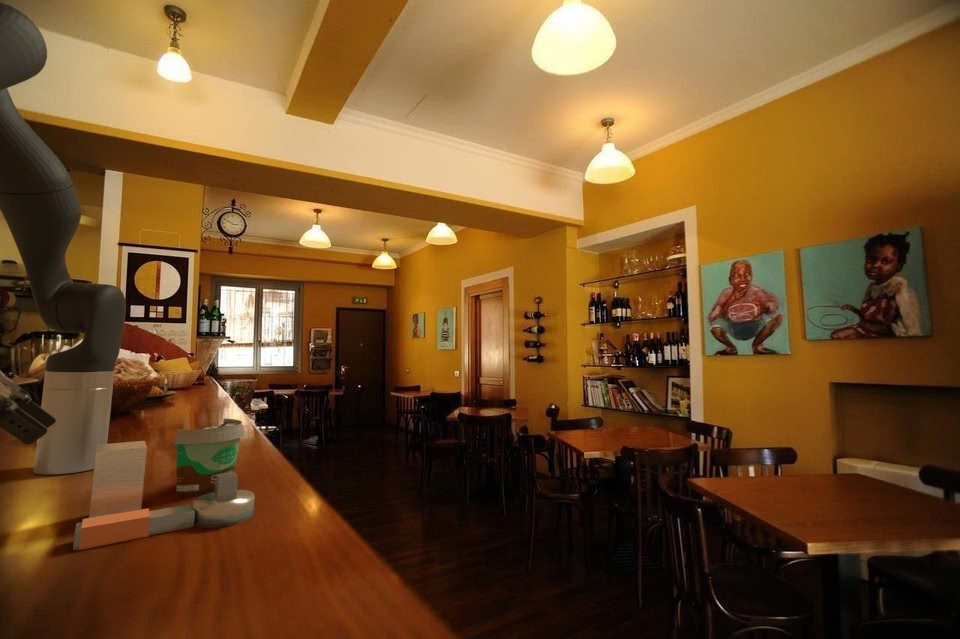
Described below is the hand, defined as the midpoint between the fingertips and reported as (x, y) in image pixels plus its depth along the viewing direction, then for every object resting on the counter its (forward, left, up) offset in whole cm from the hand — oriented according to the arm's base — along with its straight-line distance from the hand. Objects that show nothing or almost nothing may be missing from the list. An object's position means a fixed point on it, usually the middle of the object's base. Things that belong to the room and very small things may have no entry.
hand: (44, 432), depth 52 cm
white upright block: (0, +7, -11) cm, 14 cm away
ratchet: (+8, +13, -11) cm, 19 cm away
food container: (-6, +20, -12) cm, 24 cm away
